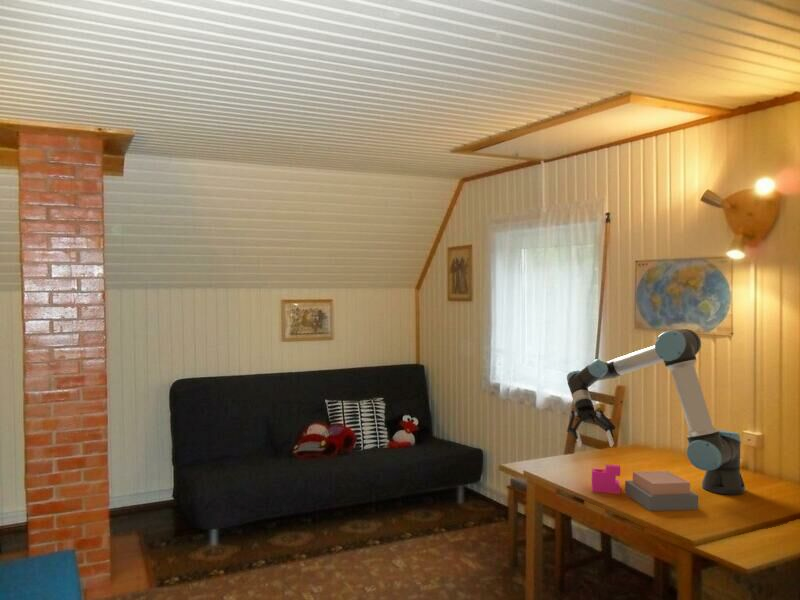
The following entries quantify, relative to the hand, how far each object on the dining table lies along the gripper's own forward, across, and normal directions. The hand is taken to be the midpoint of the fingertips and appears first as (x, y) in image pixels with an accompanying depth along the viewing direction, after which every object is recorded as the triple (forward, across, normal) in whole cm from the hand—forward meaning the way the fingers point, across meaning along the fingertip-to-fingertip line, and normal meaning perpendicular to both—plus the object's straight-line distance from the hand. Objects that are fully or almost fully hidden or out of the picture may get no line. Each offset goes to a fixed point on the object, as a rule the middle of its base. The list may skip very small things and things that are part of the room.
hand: (596, 445), depth 273 cm
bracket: (+18, 0, -3) cm, 18 cm away
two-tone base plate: (+30, -13, +10) cm, 34 cm away
